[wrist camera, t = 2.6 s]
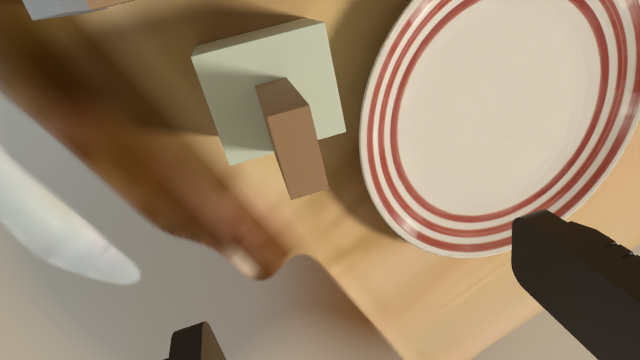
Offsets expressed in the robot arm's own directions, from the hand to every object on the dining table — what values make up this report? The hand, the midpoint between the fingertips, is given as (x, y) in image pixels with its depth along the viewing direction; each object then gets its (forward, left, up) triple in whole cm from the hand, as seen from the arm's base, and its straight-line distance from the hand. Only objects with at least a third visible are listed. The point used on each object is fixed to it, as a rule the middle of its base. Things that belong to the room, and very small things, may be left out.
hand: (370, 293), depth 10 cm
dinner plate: (-19, +7, -23) cm, 31 cm away
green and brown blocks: (0, -1, -23) cm, 23 cm away
